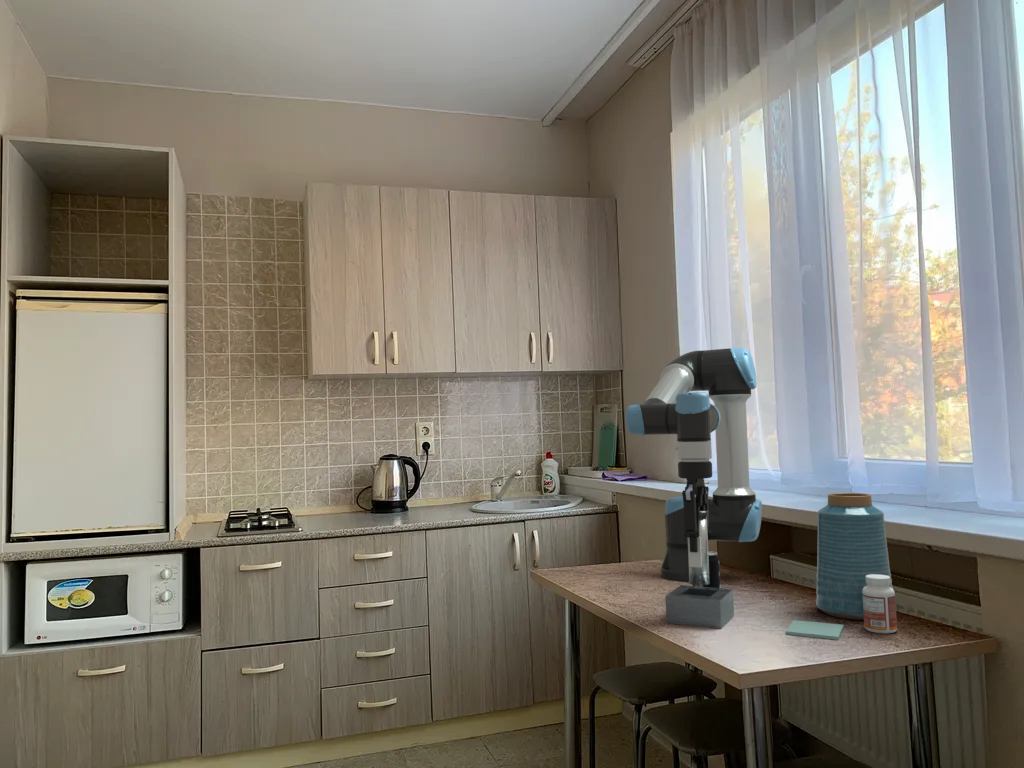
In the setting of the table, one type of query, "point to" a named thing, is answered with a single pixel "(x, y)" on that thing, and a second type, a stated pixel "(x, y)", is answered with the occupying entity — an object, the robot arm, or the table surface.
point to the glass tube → (702, 573)
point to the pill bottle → (879, 605)
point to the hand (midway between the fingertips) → (698, 564)
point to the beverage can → (713, 571)
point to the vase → (849, 553)
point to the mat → (815, 629)
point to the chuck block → (700, 606)
